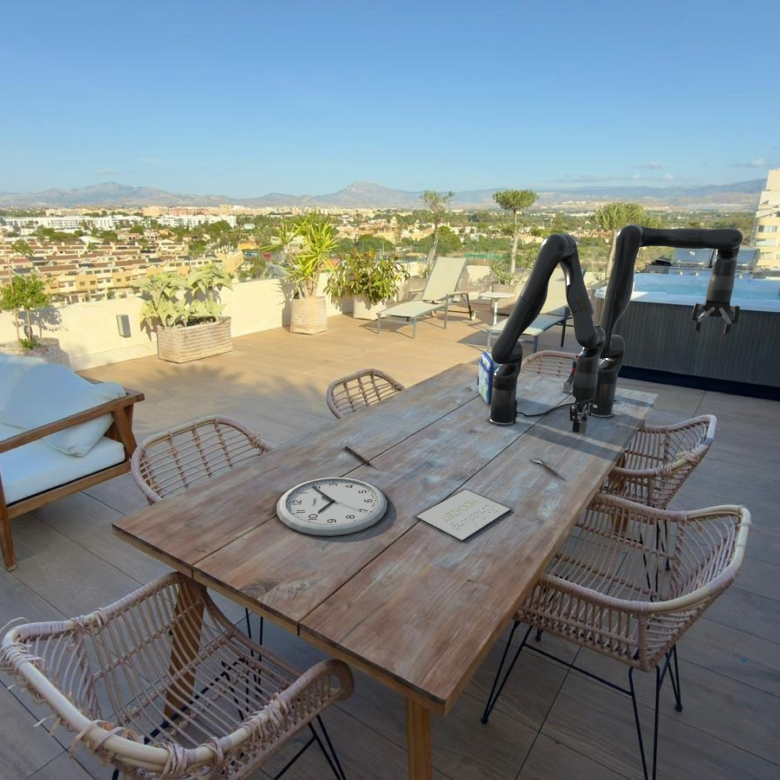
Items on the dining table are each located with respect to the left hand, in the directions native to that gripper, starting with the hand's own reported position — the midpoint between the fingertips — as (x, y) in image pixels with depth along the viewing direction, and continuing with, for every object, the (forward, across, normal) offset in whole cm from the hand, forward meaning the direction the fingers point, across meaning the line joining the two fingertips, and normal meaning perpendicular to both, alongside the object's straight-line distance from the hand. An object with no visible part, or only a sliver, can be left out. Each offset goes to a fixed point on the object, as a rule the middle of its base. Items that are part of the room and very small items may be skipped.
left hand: (579, 429), depth 184 cm
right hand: (-32, +46, -23) cm, 61 cm away
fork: (+6, -25, -1) cm, 26 cm away
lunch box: (+6, +20, +51) cm, 55 cm away
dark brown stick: (+6, -64, +45) cm, 79 cm away
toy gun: (+6, +61, +35) cm, 71 cm away
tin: (+1, 0, 0) cm, 1 cm away
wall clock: (+6, -90, +25) cm, 94 cm away
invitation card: (+6, -67, -2) cm, 67 cm away
